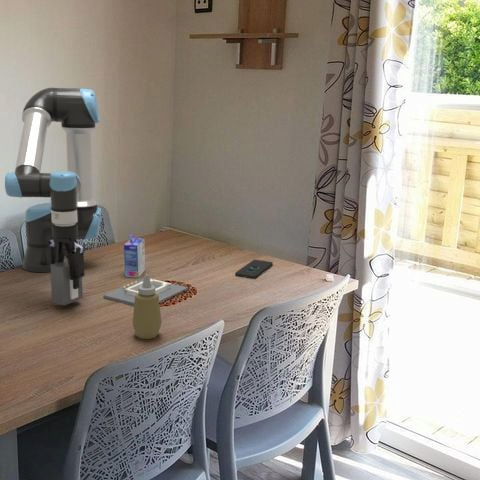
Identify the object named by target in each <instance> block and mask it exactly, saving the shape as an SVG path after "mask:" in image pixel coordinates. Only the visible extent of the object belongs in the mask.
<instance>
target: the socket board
mask: <svg viewBox="0 0 480 480" xmlns="http://www.w3.org/2000/svg"><path fill="white" fill-rule="evenodd" d="M143 280H144V278H142V279H139V280H134V282H130V283H128V284H127V283H126V285H123V286H122V287H120V288H118V289H115V290H112V291H110V292H108V293H105V294H103V299H106V300H110V301H113V302H118V303H121V304H126V305H128V306H132V307H134V302H135V296H136V295H137V294H138V287H139V286H141V285H142V284H143ZM150 281H151V285H153V286H155V293H156V294H158V296H159V303H161V302H163V301H165V300H167V299H169V298H171V297H173V296H174V295H176V294H178V293H181V292H183V291H185V292H187V291H189V287H187V286H183V285H178V284H175V283H170V282H167V281H163V280H158V279H154V278H150ZM186 290H187V291H186ZM183 293H184V292H183ZM181 294H182V293H181ZM173 298H174V297H173ZM171 299H172V298H171ZM169 300H170V299H169ZM167 301H168V300H167ZM165 302H166V301H165ZM163 303H164V302H163ZM161 304H162V303H161Z"/></svg>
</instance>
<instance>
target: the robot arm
mask: <svg viewBox="0 0 480 480" xmlns="http://www.w3.org/2000/svg"><path fill="white" fill-rule="evenodd" d="M21 119H22V122H23V125H22V126H23V127H22V131H21V132H22V133H21V136H20V137H21V138H20V142H19V147H18V154H17V159H16V164H15V169H14V171H12V172H7V173H6V174H5V175H4V176H5V177H4V189H5V193H6V195H7V196H8V197H12V198H20V199H21V198H50V202H43V203H38V204H34V205H31V206H29V207H28V208H26V210H25V219H24V222H25V234H26V236H25V237H26V250H25V254H24V258H23V260H22V269H23V270H25V271H28V272H33V273H49V272H50V273H51V264H54V263H59V262H62V261H64V260H68V264H69V267H70V273H71V277H72V278H70V299H75V298H77V297H78V288H79V278H81V277H82V278H83V277H85V257H84V256H85V255H84V254H85V250H86V247H85V246H84V245H80V244H79V243H78V240H84V241H86V240H94V239H97V238H98V237H99V232H100V227H101V226H100V225H101V218H102V208H101V207H98V202H97V201H96V200H95V199H94V197H93V196H94V195H93V158H92V157H93V155H92V154H93V153H92V151H93V150H92V132H93V131H94V130H95V129H96V124H99V123H100V111H99V104H98V99H97V95H96V93H95V91H94V90H93V89H89V88H79V87H78V88H75V87H74V88H73V87H72V88H71V87H69V88H67V87H66V88H65V87H48V88H44V89H42V90H39V91H38V92H36V93H34V94H33V95H32V96H31V97H30V98H29V99H28V100H27V102H26V104H25V106H24V107H23V110H22V113H21ZM54 122H56V123H60V124H61V129H62V130H64V131H65V134H66V135H65V136H66V137H65V138H66V161H67V162H66V165H67V166H66V167H67V168H66V169H67V170H61V171H60V170H59V171H58V170H56V171H54V172H53V171H52V172H48V173H47V172H41V170H42V165H43V157H44V152H45V144H46V137H47V132H48V128H49V127H50V126H51V124H52V123H54ZM75 274H76V275H75Z"/></svg>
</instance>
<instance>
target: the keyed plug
mask: <svg viewBox="0 0 480 480" xmlns="http://www.w3.org/2000/svg"><path fill="white" fill-rule="evenodd" d="M75 275H76V274H75ZM70 278H72V277H71V273H70V267H69V264H68V260H67V259H65V260H64V261H62V262H59V263H54V264H51V272H50V285H51V286H50V287H51V302H52V303H55V304H58V305H61V306H66V305H69V304H72V303H73V302H75V301H78V300H81V299H83V295H84V294H83V277H81V278H79V288H78V297H77V298H75V299H70Z"/></svg>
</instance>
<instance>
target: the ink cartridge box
mask: <svg viewBox="0 0 480 480" xmlns="http://www.w3.org/2000/svg"><path fill="white" fill-rule="evenodd" d="M128 238H129V240H128V241H126V242H125V243H124V244H123V258H124V259H123V260H124V276H125V278H135V279H138V278H140V277H141V275H143V273H144V272H145V271H146V252H145V248H146V247H145V246H146V245H145V238H140V237H138V238H137V237H134V235H133V233H131V234H129V235H128Z"/></svg>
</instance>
